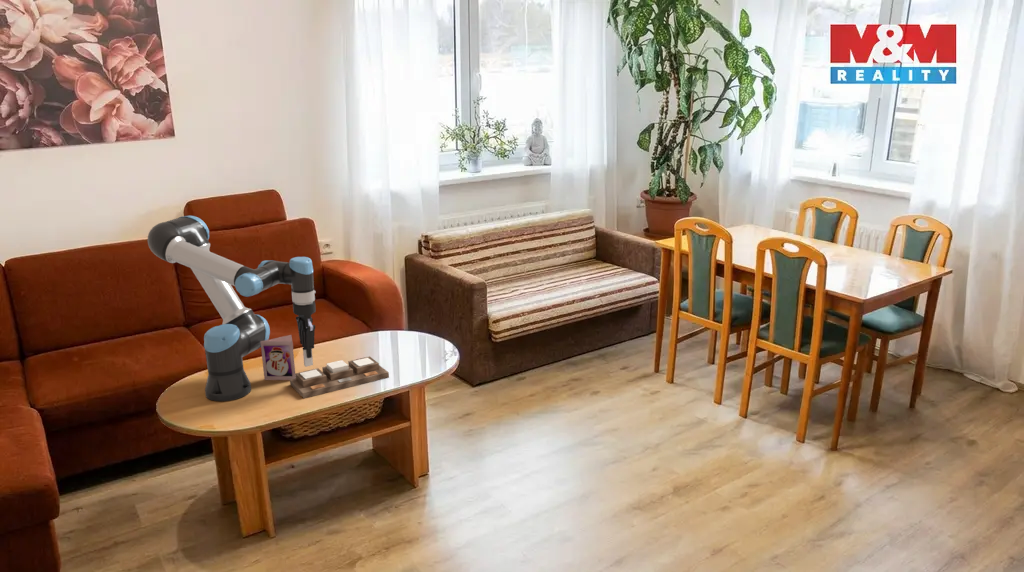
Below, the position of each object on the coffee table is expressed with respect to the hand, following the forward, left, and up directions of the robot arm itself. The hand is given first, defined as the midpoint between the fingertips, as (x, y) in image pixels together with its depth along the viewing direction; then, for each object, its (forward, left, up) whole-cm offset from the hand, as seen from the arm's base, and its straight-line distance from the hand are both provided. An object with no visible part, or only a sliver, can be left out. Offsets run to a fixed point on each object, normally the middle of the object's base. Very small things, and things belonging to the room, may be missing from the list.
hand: (308, 365), depth 280 cm
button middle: (+10, -1, -4) cm, 11 cm away
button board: (+10, -2, -8) cm, 13 cm away
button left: (0, -1, -6) cm, 6 cm away
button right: (+20, -1, -6) cm, 21 cm away
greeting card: (-6, +14, -8) cm, 17 cm away
